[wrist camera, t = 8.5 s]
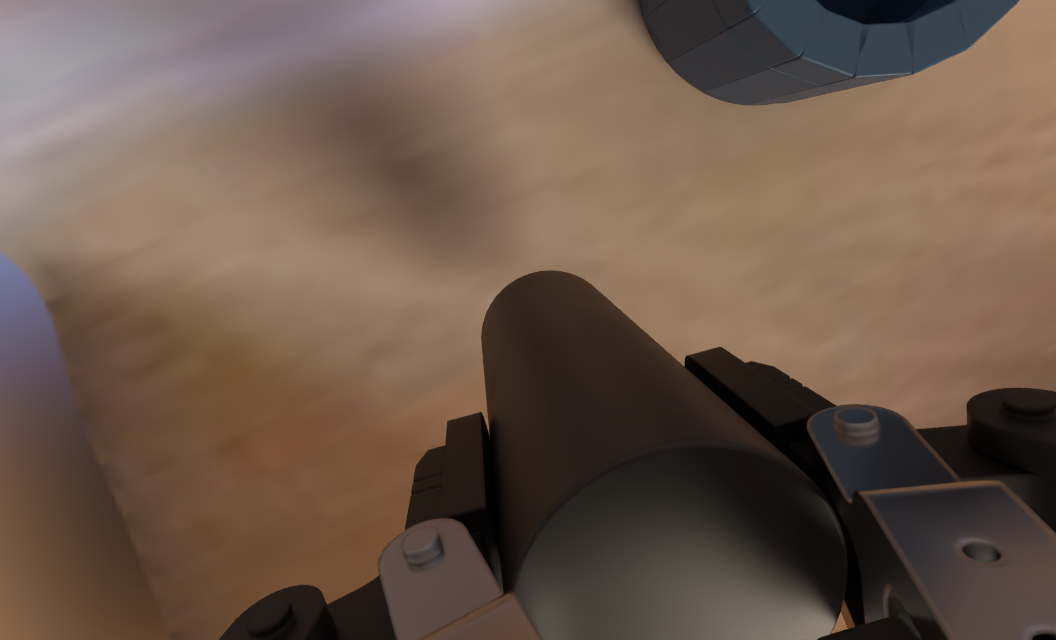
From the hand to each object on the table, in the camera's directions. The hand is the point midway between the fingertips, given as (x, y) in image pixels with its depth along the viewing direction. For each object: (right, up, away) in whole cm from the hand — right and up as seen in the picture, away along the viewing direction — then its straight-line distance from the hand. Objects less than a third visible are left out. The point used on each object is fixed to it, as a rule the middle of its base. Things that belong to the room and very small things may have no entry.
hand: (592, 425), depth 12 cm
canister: (-1, +2, +7) cm, 7 cm away
